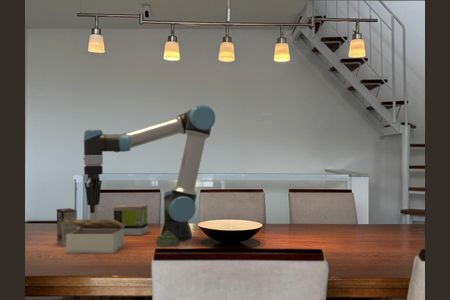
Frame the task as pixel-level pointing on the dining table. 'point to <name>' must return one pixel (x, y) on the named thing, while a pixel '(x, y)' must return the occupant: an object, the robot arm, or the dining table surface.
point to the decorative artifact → (167, 240)
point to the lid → (96, 224)
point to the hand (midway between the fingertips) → (93, 220)
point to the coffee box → (65, 224)
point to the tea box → (132, 218)
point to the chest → (94, 241)
